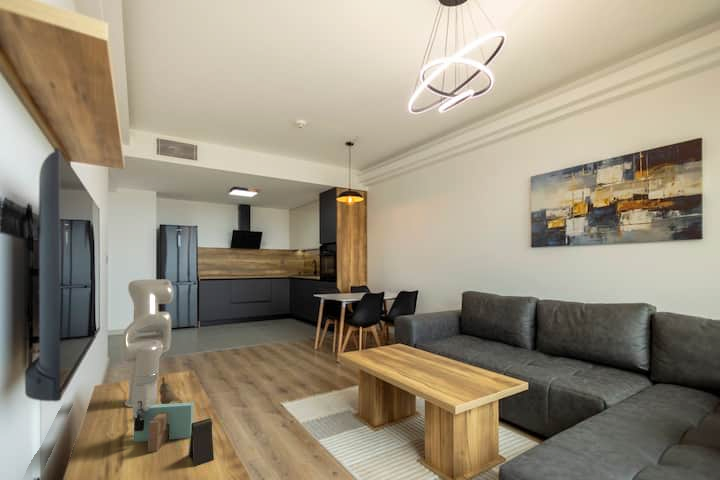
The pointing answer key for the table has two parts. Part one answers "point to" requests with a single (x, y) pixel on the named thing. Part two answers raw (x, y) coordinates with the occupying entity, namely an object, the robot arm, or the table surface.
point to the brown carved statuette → (167, 393)
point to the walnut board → (158, 431)
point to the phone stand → (201, 442)
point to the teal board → (169, 420)
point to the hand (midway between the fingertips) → (145, 424)
